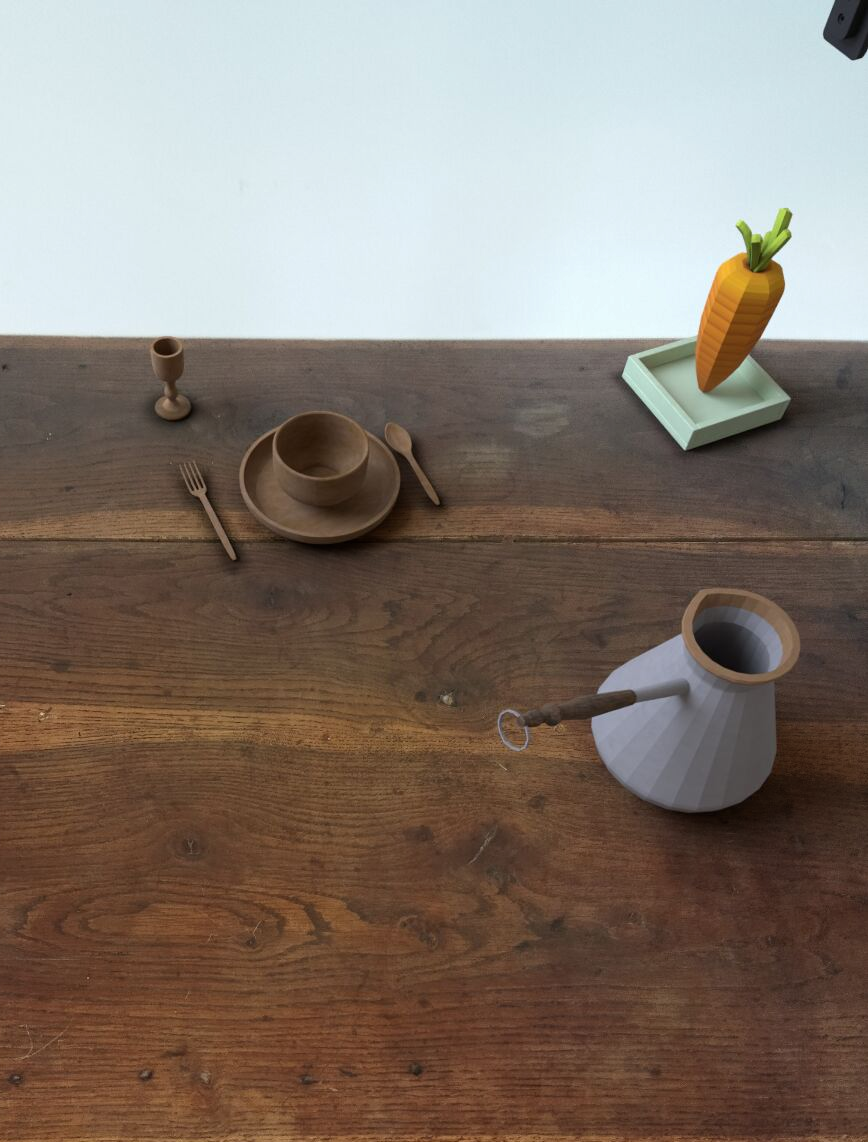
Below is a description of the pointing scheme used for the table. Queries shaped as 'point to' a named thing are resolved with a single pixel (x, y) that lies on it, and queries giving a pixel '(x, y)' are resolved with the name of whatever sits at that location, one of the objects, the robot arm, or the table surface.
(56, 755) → the table surface
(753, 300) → the carrot
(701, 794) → the coffee pot
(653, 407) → the serving dish
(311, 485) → the place setting
